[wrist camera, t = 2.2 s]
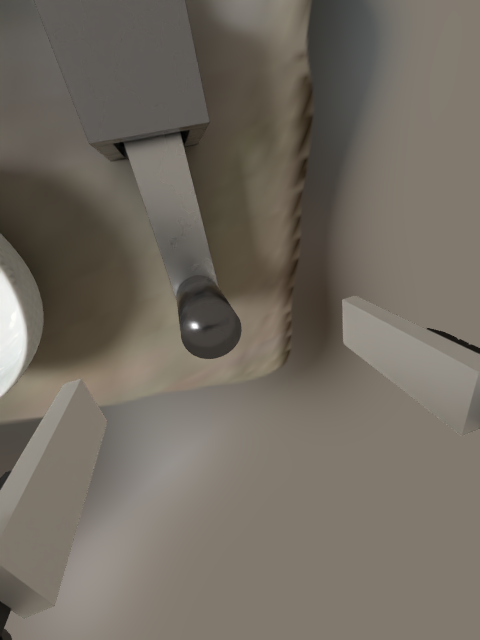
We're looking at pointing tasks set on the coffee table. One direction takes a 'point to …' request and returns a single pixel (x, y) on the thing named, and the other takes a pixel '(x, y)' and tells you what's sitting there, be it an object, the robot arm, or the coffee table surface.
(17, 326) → the cereal bowl
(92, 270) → the coffee table surface
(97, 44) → the sleeve
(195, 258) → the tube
